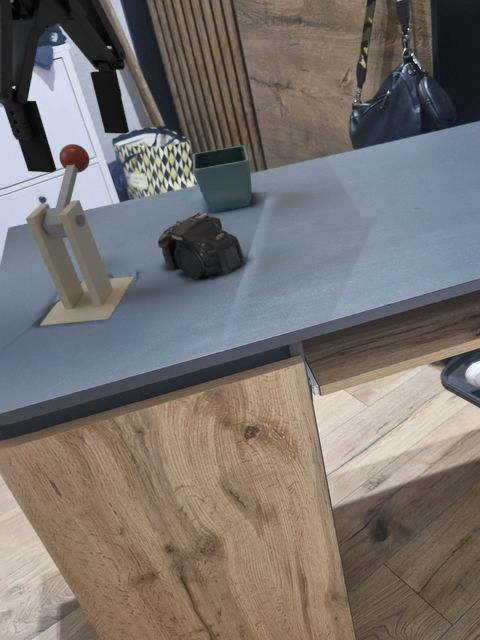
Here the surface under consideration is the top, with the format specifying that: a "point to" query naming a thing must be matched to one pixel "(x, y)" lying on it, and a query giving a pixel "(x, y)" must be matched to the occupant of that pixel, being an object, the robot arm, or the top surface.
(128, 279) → the stand
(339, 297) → the top surface
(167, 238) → the camera
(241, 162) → the flower pot
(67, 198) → the lever
